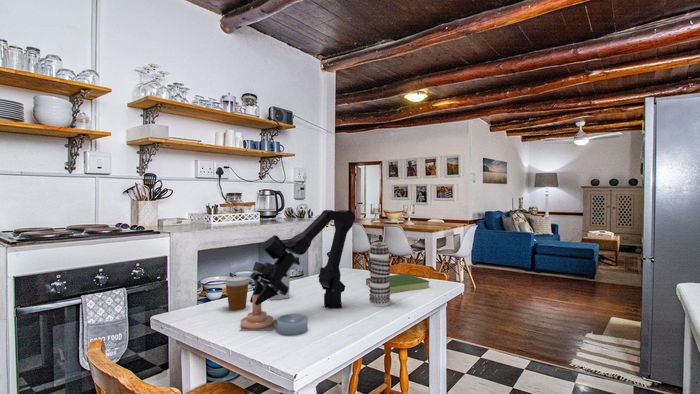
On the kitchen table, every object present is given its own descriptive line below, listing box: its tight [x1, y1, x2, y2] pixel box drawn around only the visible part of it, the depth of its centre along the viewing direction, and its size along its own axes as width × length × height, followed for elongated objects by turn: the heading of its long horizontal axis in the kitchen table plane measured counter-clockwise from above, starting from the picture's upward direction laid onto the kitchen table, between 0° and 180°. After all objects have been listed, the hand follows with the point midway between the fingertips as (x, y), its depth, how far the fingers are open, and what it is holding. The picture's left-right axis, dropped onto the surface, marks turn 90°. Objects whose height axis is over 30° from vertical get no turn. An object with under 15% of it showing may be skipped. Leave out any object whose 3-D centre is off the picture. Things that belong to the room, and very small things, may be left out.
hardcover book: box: [365, 273, 430, 294], centre depth 183 cm, size 25×19×4 cm
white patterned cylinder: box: [367, 241, 392, 307], centre depth 155 cm, size 9×9×25 cm
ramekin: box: [276, 313, 309, 337], centre depth 125 cm, size 10×10×4 cm
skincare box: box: [269, 262, 291, 301], centre depth 165 cm, size 8×6×15 cm
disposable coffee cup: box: [224, 275, 251, 311], centre depth 149 cm, size 10×10×12 cm
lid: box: [240, 294, 274, 330], centre depth 131 cm, size 11×11×10 cm
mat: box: [239, 318, 278, 332], centre depth 130 cm, size 11×11×1 cm
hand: (253, 303), depth 130 cm, fingers open, 3 cm apart
